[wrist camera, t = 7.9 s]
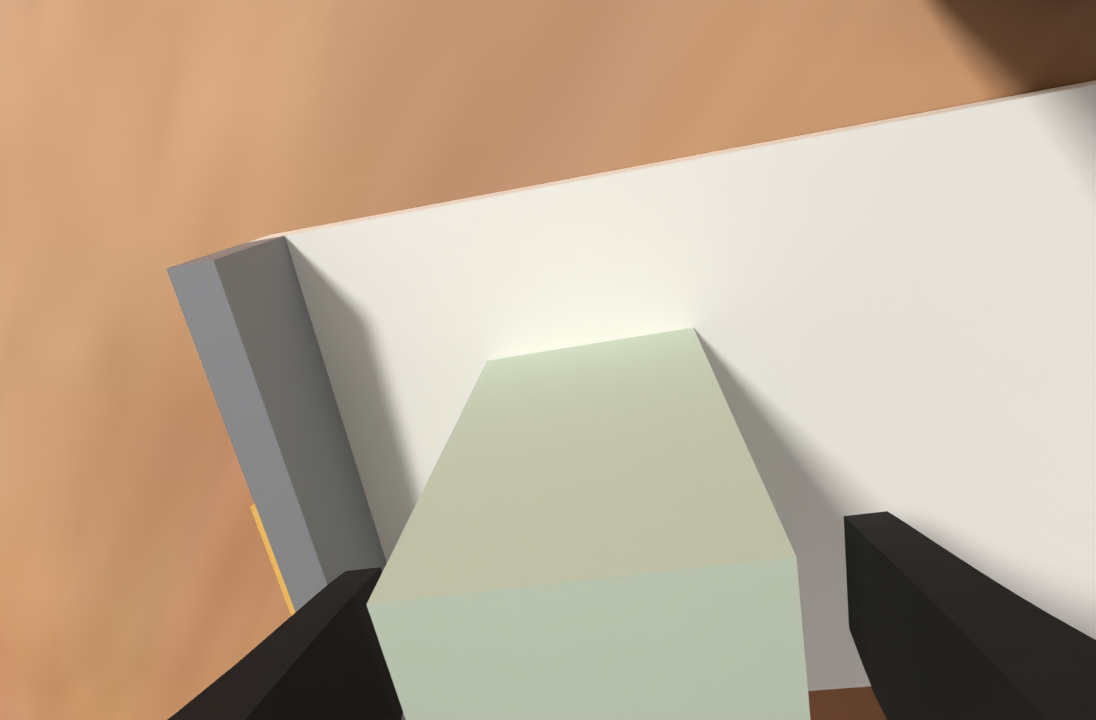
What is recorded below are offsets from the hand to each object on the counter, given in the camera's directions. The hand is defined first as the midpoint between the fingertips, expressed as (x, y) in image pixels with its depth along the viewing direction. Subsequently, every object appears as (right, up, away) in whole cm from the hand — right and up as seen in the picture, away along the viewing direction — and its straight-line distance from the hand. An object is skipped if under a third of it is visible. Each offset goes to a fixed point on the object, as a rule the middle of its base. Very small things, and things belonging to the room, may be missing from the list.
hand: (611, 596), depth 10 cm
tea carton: (0, +1, +3) cm, 4 cm away
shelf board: (+2, +2, +4) cm, 5 cm away
